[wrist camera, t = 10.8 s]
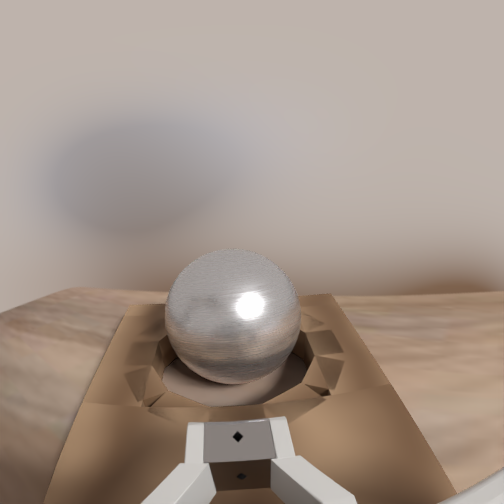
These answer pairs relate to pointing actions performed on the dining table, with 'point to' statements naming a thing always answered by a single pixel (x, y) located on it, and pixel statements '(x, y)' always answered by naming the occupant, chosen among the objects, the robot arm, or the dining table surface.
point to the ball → (232, 316)
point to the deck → (286, 404)
